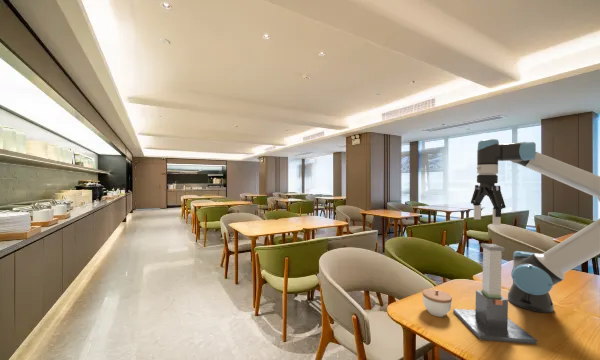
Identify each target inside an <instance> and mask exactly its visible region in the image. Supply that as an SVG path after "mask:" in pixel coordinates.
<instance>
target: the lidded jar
mask: <svg viewBox="0 0 600 360" xmlns="http://www.w3.org/2000/svg"><path fill="white" fill-rule="evenodd" d="M452 300H453V297H452V295H451V294H449V293H448V292H446V291H443V290H441V289H436V288H425V289H423V290H422V302H423V305H424V308H425V309H426V310H427V311H428V313H429V314H430V315H432V316H435V317H439V318H440V317H445V316H446V315H447V314H449V312H450V311H451V308H452Z"/></svg>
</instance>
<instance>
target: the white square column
mask: <svg viewBox="0 0 600 360" xmlns="http://www.w3.org/2000/svg"><path fill="white" fill-rule="evenodd" d="M480 248H482V249H483V252H482V288H481V291H482V293H483V294H484V295H486V296H487V297H488V298H501V296H502V260H503V259H502V257H503V253H502V252H505V250H506V249H505V247H503V246H501V245H498V244H496V243H480Z"/></svg>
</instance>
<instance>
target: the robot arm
mask: <svg viewBox="0 0 600 360" xmlns="http://www.w3.org/2000/svg"><path fill="white" fill-rule="evenodd" d="M536 149H537V148H536V142H534V141H523V142H521V141H520V142H510V143H509V142H507V143H500V142H499V140H498V139H494V138H493V139H492V138H491V139H490V138H489V139H482V140H480V141H478V143H477V151H476V153H477V156H476V159H477V161H476V162H477V163H476V165H477V166H476V173H477V175H476V183H478V184H475V185H474V191H473V194H472V197H471V199H470V204H472V205H473V220H481V219H482V215H481V214H482V211H481V210H482V204H481V203H482V202H483V200H484V198H485V197H486V196H487V197H488V199H489V200H490V202H491V204H492V206H493V207H492V225H495V226H501V220H502V210H503V209H506V207H507V206H506V204H505V201H504V200H505V199H504V197H503V194H502V191H501V190H502V189H501V185H496V184H497V183H498V182H499V175H497V174H499V162H500V161H501V162H506V161H507V162H508V161H510V162H511V163H514V164H518V165H520V166H523V167H525V168H527V169H529V170H532V171H534V172H537V173H540V174H542V175H544V176H546V177H549V178H550V179H552V180H556V181H557V182H560V183H562V184H565V185H567V186H569V187H571V188H574V189H576V190H578V191H581V192H583V193H586V194H588V195H591V196H593V197H595V198H596V199H597V200H598V202H599V203H600V175H597V174H595V173H593V172H590V171H587V170H586V169H585V170H584V169H582V168H579V167H577V166H575V165H572V164H570V163H569V164H568V163H566V162H564V161H562V160H559V159H556V158H553V157H551V156H549V155H545V154H542V153H541V152H539V151H537V150H536ZM598 255H600V218H598V219H596V220H595V221H593V222H591V223H589V224H588V225H586V226H585V227H584V228H582V229H579V230H578V231H577V232H575V233H573V234H572V235H570V236H569V237H567V238H565V239H564V240H562V241H561V242H559V243H557V244H556V245H554V246H553V247H551V248H549V249H548V250H546V251H545V252H542V253H538V252H530V251H522V250H521V251H519V250H515V251H514V252H513V255H512V258H513V263H512V269H511V273H510V274H511V279H512V284H511V287H510V288H509V291H508V293H507V300H508V302H509V303H511V304H513V305H514V306H517V307H519V308H521V309H525V310H527V311H528V310H529V311H532V312H535V313H536V312H537V313H542V314H543V313H544V314H547V313H548V314H549V313H553V312H554V303H553V301H552V298H551V295H550V291H551V290H552V289H553V286H555V285H557V284H558V283H560V282H562V281H564V280H565V275H566V274H565V273H568V272H570V271H571V270H573V269H575V268H576V267H579V266H580V265H583V263H585V262H587V261H590V259H593V258H594V257H596V256H598Z"/></svg>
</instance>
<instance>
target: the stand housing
mask: <svg viewBox="0 0 600 360" xmlns="http://www.w3.org/2000/svg"><path fill="white" fill-rule="evenodd" d="M508 310H509V300H508V298H506V297H504V296H503V295H501V298H488V297H487V296H486V295H484V294H483V293H482V290H476V289H475V309H463V308H453V314H455V315H456V317H457V318H458V319H459V320H460V321H461V323H463V324H464V325H465V326H466V328H468V329H469V330H470V331H471V332H472V334H473V335H474V336H477V337H478V338H479V339H481V340H480V341H488V340H489V341H490V342H500V343H501V342H502V343H515V344H526V345H527V344H529V345H537V344H538V343H537V341H538V340H537V339H536V338H535V337H534V336H532V335H531V334H530V333H529V332H527V331H525V330H524V328H522V327H521V326H519V325H518V324H517V323H515V322H514V321H513V320H511V319H510V318H509V317H508V316H509V315H508V313H509V312H508ZM477 337H476V338H477ZM478 338H477V339H478ZM479 339H478V340H479Z"/></svg>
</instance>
